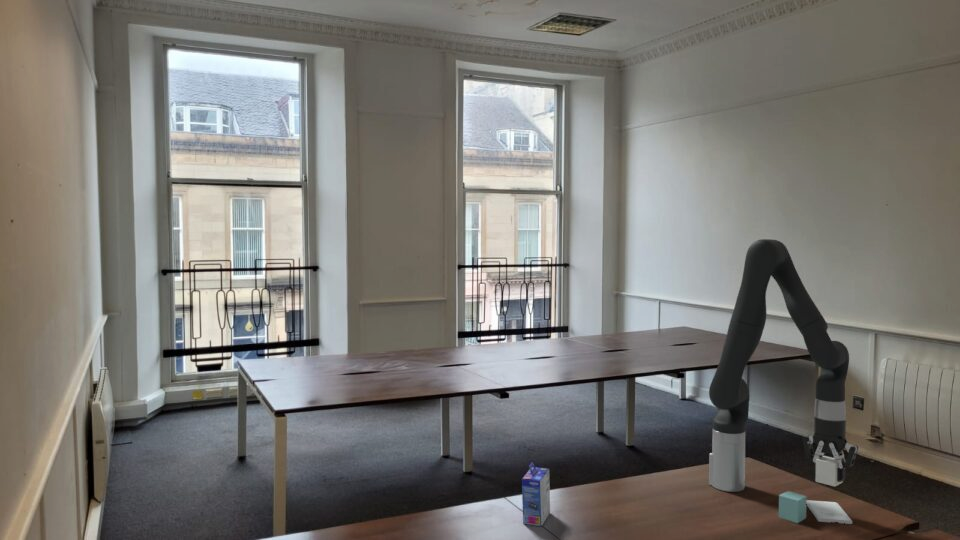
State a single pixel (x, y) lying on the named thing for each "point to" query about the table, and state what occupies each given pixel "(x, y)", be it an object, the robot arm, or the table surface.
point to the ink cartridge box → (536, 495)
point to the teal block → (792, 506)
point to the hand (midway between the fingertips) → (829, 478)
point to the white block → (827, 471)
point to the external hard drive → (828, 512)
